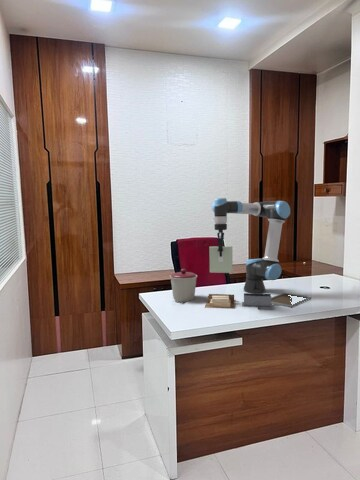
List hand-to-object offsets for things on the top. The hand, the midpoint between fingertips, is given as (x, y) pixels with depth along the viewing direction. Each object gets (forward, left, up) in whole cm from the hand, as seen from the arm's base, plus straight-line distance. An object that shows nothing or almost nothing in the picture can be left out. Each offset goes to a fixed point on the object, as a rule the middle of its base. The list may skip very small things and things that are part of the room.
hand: (221, 261), depth 219 cm
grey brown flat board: (-34, +26, -28) cm, 51 cm away
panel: (0, 0, -7) cm, 7 cm away
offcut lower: (+7, +4, -26) cm, 27 cm away
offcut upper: (+6, +4, -23) cm, 25 cm away
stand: (-9, +20, -27) cm, 35 cm away
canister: (+9, -24, -27) cm, 37 cm away
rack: (+3, +2, -27) cm, 28 cm away
